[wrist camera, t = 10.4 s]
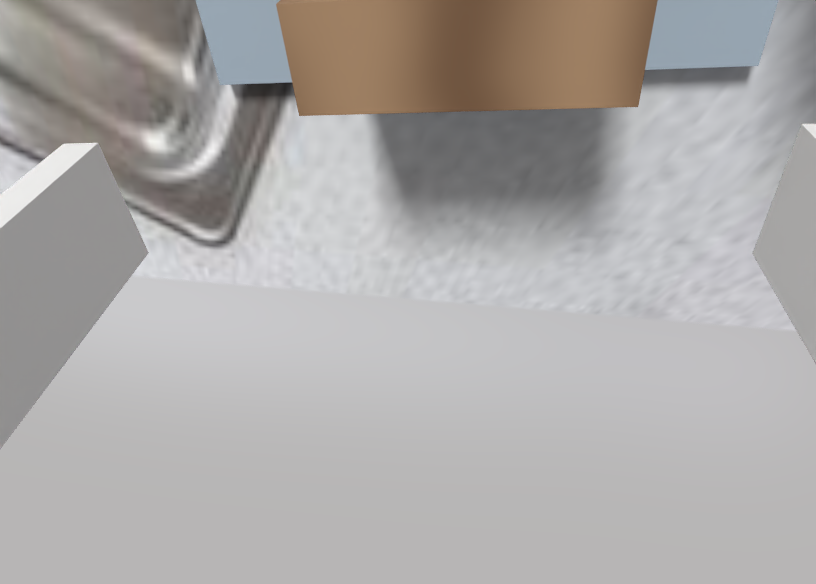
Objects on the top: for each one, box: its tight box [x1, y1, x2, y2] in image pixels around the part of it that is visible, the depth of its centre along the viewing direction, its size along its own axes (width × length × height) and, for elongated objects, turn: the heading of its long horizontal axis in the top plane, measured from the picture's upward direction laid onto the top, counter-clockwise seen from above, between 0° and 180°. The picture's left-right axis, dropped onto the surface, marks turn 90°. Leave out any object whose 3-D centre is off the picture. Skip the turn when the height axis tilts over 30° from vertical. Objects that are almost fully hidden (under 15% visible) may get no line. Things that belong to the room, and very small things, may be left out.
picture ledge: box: [196, 0, 778, 85], centre depth 22 cm, size 24×7×6 cm, turn 94°
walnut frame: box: [276, 0, 658, 116], centre depth 21 cm, size 11×4×8 cm, turn 94°
